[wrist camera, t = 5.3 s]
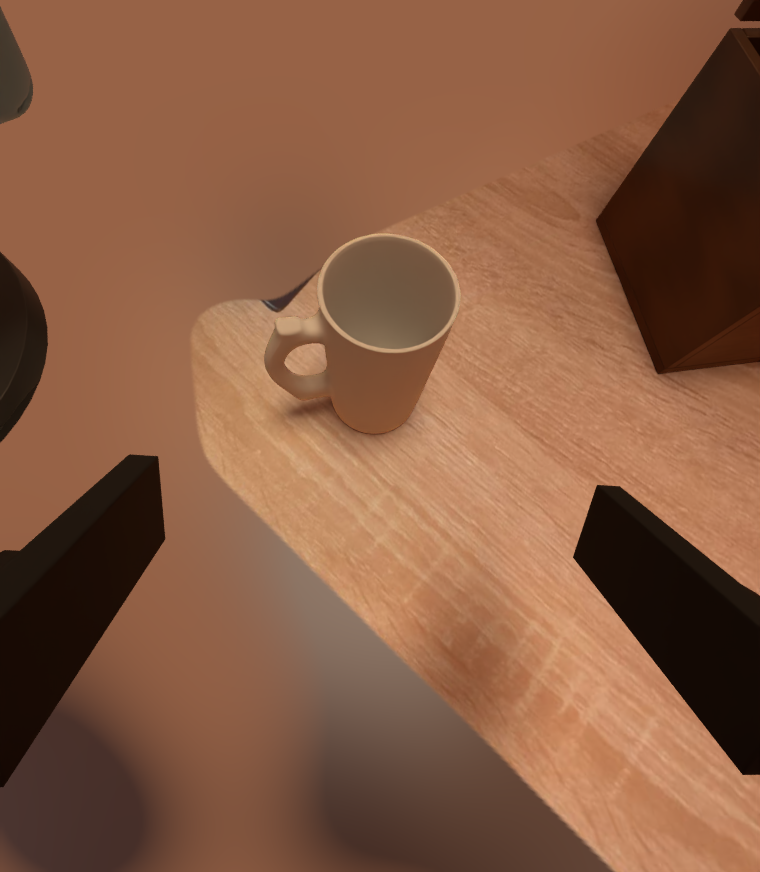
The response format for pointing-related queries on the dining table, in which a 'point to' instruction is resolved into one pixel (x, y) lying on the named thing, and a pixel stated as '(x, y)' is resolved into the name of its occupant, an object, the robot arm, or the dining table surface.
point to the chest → (697, 219)
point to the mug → (372, 330)
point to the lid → (748, 10)
